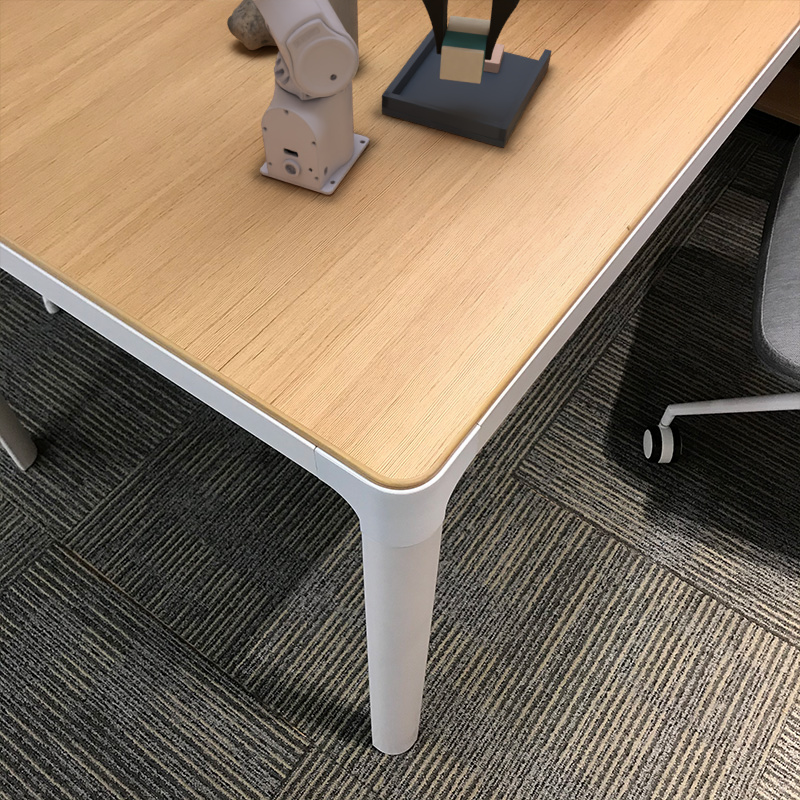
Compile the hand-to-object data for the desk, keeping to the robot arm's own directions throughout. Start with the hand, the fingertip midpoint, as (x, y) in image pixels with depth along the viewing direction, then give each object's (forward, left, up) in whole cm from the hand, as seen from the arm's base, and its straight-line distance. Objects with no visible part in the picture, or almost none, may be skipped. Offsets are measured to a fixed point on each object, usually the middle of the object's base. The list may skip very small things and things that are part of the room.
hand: (464, 51), depth 75 cm
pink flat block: (+11, +1, -8) cm, 14 cm away
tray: (+6, +1, -8) cm, 11 cm away
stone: (+6, +25, -9) cm, 27 cm away
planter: (+4, +16, -9) cm, 19 cm away
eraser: (0, 0, -1) cm, 1 cm away
